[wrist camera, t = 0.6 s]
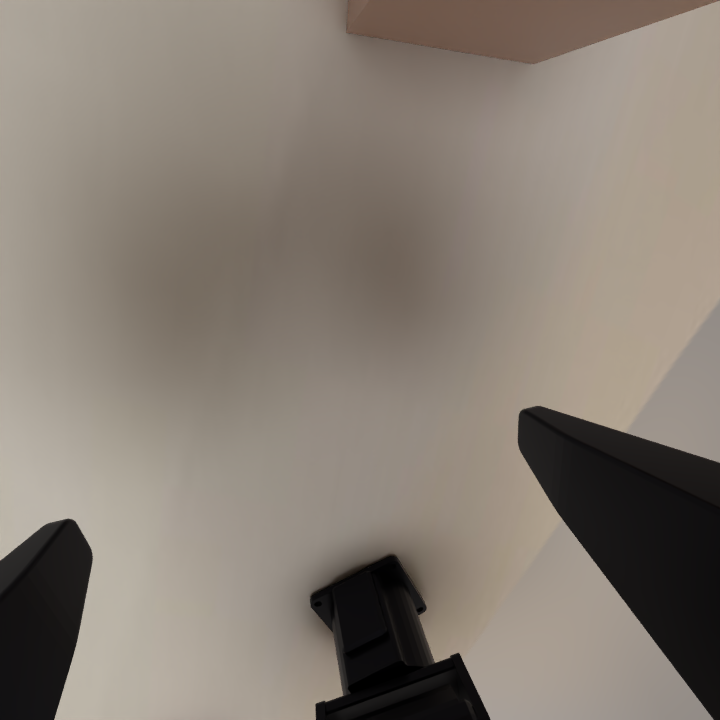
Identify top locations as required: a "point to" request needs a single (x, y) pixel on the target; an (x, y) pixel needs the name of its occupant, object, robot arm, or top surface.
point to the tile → (508, 23)
